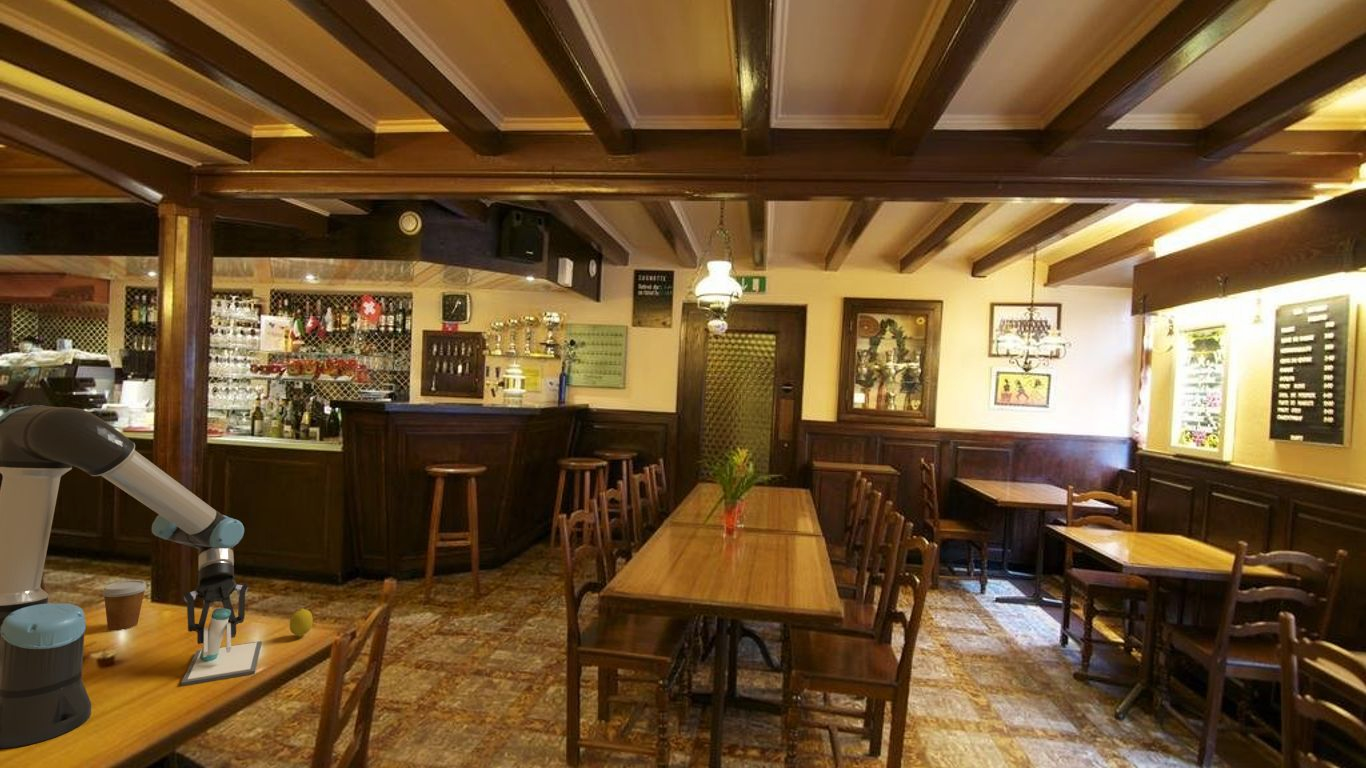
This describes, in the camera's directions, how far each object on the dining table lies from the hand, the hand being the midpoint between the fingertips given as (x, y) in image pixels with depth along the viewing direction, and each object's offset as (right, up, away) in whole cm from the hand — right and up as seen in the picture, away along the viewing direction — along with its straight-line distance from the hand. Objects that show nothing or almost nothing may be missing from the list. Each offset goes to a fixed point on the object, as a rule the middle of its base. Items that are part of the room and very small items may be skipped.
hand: (217, 651), depth 148 cm
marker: (-5, -3, +4) cm, 7 cm away
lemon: (+7, -6, +22) cm, 23 cm away
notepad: (-1, -5, +4) cm, 6 cm away
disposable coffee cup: (-46, -4, +25) cm, 53 cm away
